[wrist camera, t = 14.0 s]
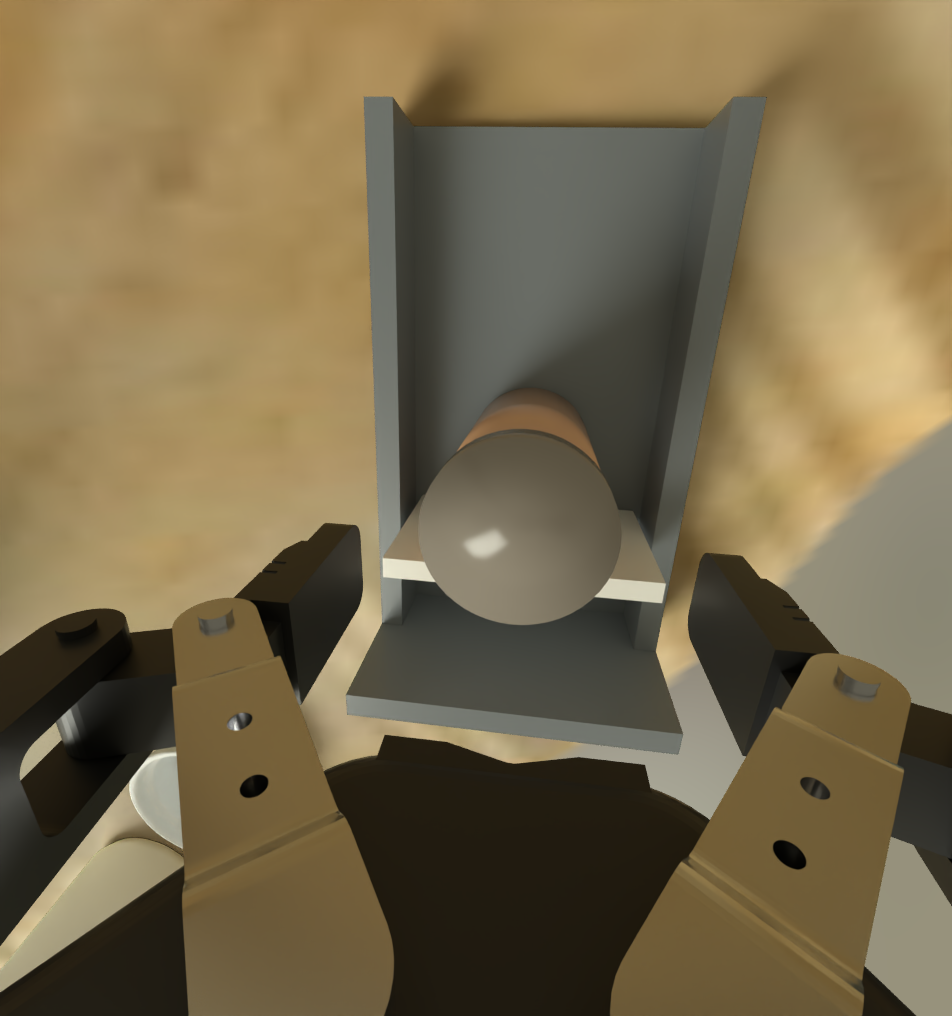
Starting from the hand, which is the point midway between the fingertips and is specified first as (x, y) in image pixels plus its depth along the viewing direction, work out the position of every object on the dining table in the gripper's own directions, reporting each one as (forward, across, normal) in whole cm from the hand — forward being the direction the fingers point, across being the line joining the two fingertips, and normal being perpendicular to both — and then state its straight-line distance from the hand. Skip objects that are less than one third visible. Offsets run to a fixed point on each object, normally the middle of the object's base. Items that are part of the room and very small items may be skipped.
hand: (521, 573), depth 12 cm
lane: (+13, 0, -1) cm, 13 cm away
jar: (+13, 0, 0) cm, 13 cm away
